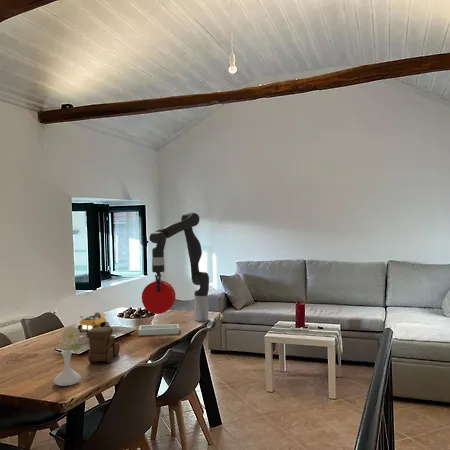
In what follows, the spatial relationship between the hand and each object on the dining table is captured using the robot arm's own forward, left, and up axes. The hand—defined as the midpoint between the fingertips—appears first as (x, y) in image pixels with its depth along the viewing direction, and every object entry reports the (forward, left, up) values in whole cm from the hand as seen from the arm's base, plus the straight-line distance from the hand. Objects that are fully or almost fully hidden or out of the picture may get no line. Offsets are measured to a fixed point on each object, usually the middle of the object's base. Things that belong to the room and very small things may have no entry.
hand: (158, 291), depth 273 cm
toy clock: (0, 0, -14) cm, 14 cm away
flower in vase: (+79, -36, -26) cm, 91 cm away
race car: (-13, -42, -26) cm, 51 cm away
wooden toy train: (+48, -26, -26) cm, 61 cm away
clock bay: (0, 0, -26) cm, 26 cm away
